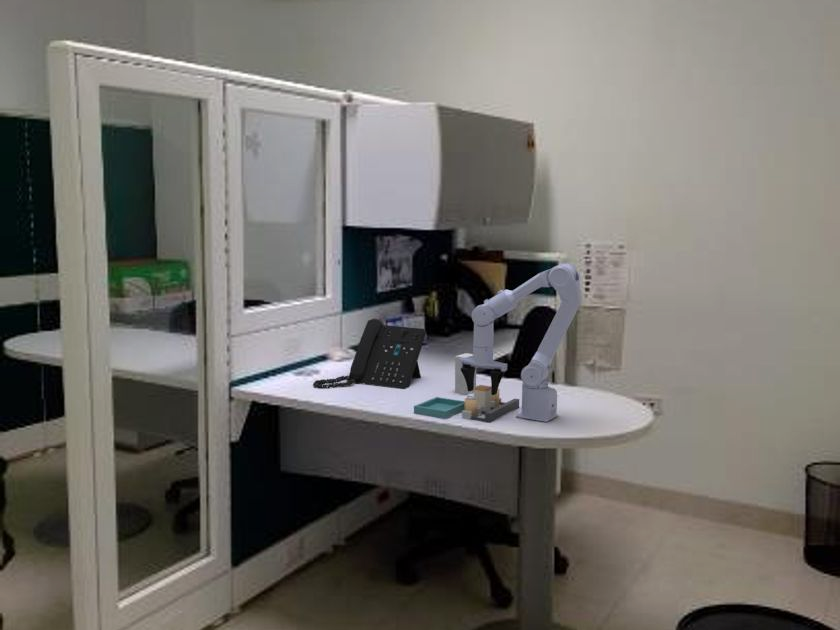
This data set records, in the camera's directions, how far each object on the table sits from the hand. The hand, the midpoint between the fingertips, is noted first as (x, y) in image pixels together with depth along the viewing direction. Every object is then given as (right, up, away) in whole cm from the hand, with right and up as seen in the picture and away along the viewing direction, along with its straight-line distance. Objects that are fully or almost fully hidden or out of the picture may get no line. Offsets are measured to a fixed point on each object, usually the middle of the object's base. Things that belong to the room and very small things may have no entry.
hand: (482, 392), depth 229 cm
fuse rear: (+4, -5, +7) cm, 9 cm away
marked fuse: (0, -5, +1) cm, 6 cm away
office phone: (-35, -1, +35) cm, 50 cm away
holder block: (+2, -6, -1) cm, 6 cm away
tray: (-12, -5, +1) cm, 13 cm away
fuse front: (-4, -6, -5) cm, 9 cm away
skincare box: (-4, -2, +23) cm, 23 cm away
